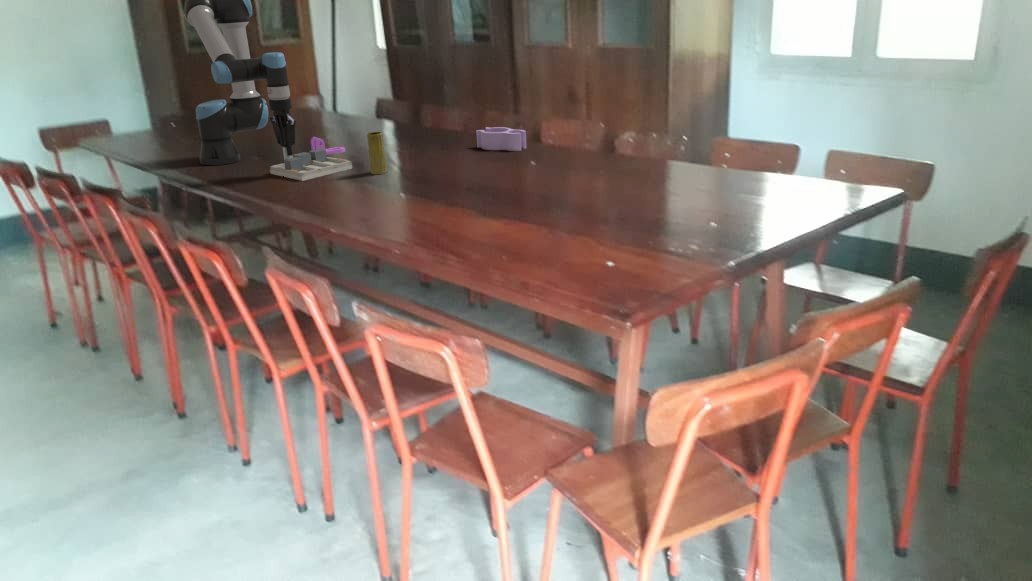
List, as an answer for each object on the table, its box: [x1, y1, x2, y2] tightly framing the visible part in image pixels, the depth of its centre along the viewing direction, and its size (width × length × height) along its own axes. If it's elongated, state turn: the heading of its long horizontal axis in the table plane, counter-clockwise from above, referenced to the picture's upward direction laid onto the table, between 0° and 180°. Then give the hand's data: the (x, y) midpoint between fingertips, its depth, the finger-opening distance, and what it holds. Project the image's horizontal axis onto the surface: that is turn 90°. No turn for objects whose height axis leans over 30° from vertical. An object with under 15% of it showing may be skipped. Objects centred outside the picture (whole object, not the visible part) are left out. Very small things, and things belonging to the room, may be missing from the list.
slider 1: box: [283, 157, 304, 171], centre depth 289 cm, size 4×5×4 cm
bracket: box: [309, 136, 346, 156], centre depth 324 cm, size 13×6×7 cm, turn 125°
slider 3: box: [308, 149, 328, 162], centre depth 302 cm, size 4×5×4 cm
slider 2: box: [292, 151, 312, 166], centre depth 297 cm, size 4×5×4 cm
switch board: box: [269, 156, 353, 182], centre depth 295 cm, size 20×22×3 cm
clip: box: [476, 126, 527, 152], centre depth 320 cm, size 20×12×7 cm, turn 58°
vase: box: [366, 131, 388, 175], centre depth 286 cm, size 6×6×14 cm
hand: (289, 164), depth 291 cm, fingers closed
